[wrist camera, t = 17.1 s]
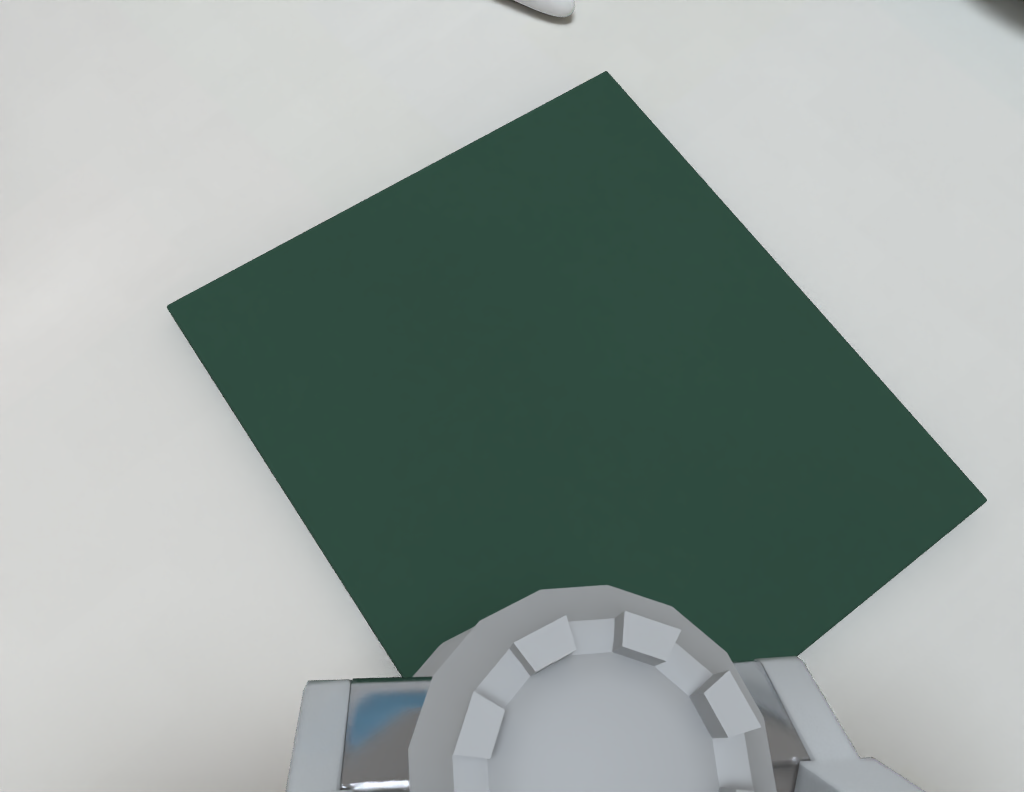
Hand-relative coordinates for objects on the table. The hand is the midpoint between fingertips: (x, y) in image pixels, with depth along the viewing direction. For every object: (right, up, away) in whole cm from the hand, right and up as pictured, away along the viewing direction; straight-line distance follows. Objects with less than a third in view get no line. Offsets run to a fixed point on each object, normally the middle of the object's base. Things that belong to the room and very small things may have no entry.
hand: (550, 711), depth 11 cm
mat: (+1, +3, +19) cm, 19 cm away
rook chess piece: (0, -2, +4) cm, 5 cm away
